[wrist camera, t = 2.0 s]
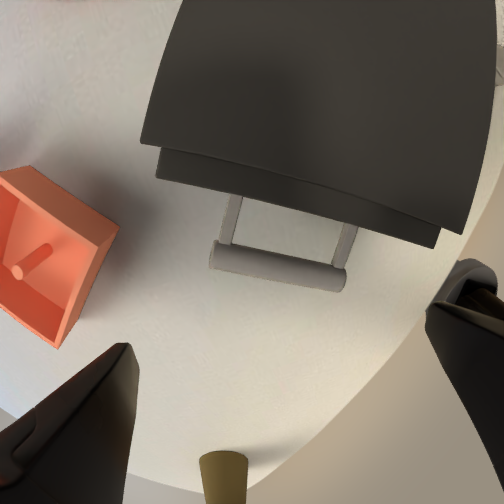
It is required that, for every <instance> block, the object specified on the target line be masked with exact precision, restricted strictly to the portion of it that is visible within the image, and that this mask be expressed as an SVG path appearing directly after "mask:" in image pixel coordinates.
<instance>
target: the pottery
mask: <svg viewBox="0 0 504 504" xmlns="http://www.w3.org/2000/svg"><path fill="white" fill-rule="evenodd" d="M119 229H120V226H118V225H116V224H115V223H113V222H112V221H110V220H109V219H107V218H106V217H104V216H103V215H101V214H100V213H98V212H97V211H95V210H94V209H92V208H91V207H89V206H88V205H86V204H85V203H83V202H82V201H80V200H79V199H77V198H76V197H74V196H73V195H71V194H70V193H68V192H67V191H65V190H64V189H63V188H61V187H60V186H58V185H57V184H55V183H54V182H52V181H51V180H50V179H48V178H47V177H45V176H44V175H42V174H41V173H40V172H38V171H37V170H35V169H34V168H33V167H31V166H30V165H29V166H25V167H20V168H16V169H11V170H7V171H3V172H0V308H2V309H3V310H4V311H5V312H7V313H8V314H9V315H10V316H12V317H13V318H14V319H15V320H17V321H18V322H19V323H21V324H22V325H23V326H25V327H26V328H27V329H29V330H30V331H31V332H33V333H34V334H36V335H37V336H38V337H40V338H41V339H43V340H44V341H46V342H47V343H49V344H50V345H52V346H53V347H55V348H56V349H59V347H60V346H61V344H62V343H63V341H64V340H65V338H66V337H67V335H68V334H69V332H70V331H71V329H72V328H73V326H74V325H75V323H76V322H77V320H78V318H79V315H80V313H81V310H82V308H83V305H84V303H85V301H86V298H87V296H88V294H89V291H90V289H91V287H92V284H93V282H94V280H95V278H96V276H97V273H98V271H99V269H100V267H101V265H102V263H103V261H104V259H105V256H106V254H107V252H108V250H109V248H110V246H111V244H112V242H113V240H114V238H115V236H116V234H117V232H118V231H119Z"/></svg>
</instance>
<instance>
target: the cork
mask: <svg viewBox="0 0 504 504" xmlns="http://www.w3.org/2000/svg"><path fill="white" fill-rule="evenodd" d="M199 464H200V470H201V477H202V483H203V489H204V494H205V500H206V504H246V491H247V475H248V459H247V458H246V457H245V456H244V455H242V454H240V453H236V452H232V451H215V452H211V453H207V454H205V455H203V456H202V457H201V458H200V461H199Z"/></svg>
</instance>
